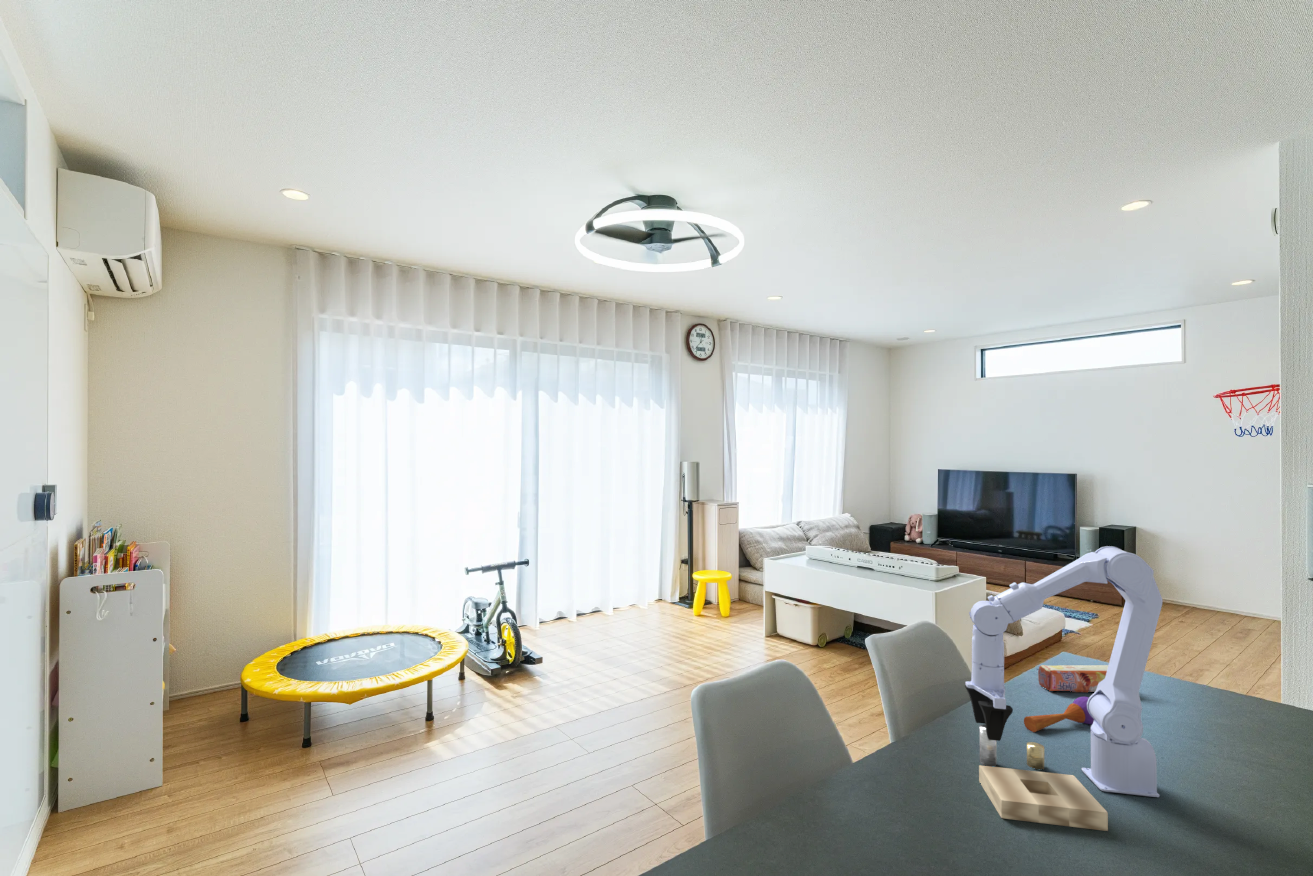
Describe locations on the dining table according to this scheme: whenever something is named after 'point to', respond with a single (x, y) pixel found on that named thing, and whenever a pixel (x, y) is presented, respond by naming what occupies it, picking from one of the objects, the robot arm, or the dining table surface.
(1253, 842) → the dining table surface
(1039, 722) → the maraca
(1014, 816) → the hole block
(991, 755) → the long pin
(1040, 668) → the snack package
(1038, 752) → the short pin
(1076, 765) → the dining table surface
